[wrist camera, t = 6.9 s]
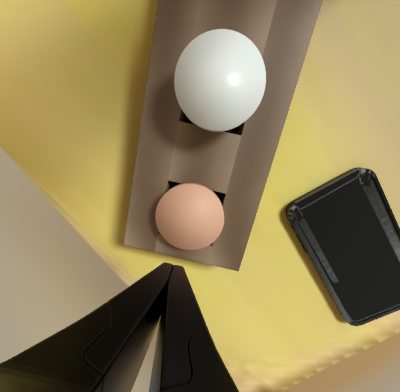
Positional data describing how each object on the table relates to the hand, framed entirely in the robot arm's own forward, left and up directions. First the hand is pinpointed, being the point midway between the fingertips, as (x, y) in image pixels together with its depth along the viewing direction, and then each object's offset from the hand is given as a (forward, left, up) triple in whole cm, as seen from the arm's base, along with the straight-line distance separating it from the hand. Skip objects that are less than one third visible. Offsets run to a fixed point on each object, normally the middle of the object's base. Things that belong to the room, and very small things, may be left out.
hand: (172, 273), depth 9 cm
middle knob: (0, -9, -9) cm, 13 cm away
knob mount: (0, -9, -11) cm, 14 cm away
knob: (0, 0, -10) cm, 10 cm away
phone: (-16, +1, -11) cm, 20 cm away
